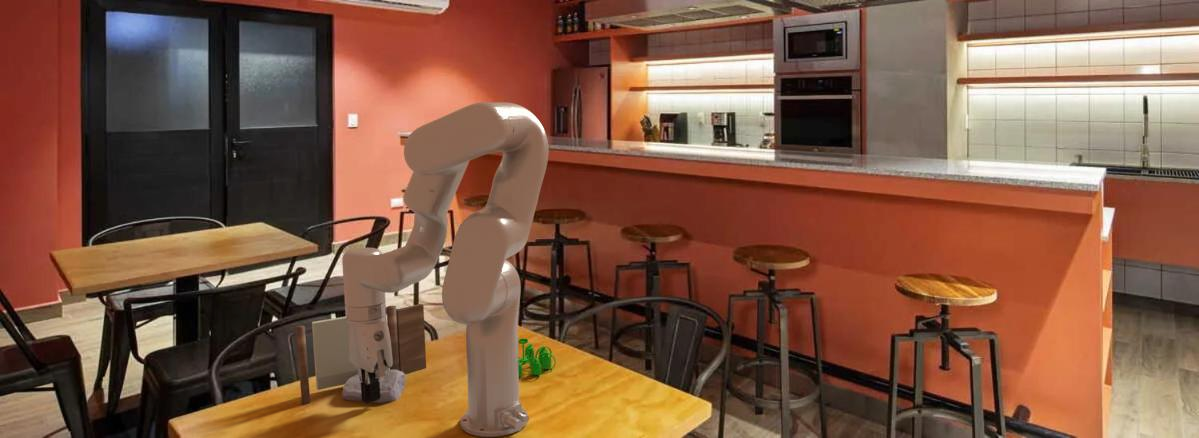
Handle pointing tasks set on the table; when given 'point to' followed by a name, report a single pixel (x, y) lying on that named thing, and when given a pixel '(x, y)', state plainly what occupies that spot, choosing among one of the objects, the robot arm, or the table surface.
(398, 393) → the stone block
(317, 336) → the door
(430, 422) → the table surface
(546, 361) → the chandelier
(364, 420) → the table surface
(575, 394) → the table surface
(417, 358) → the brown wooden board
